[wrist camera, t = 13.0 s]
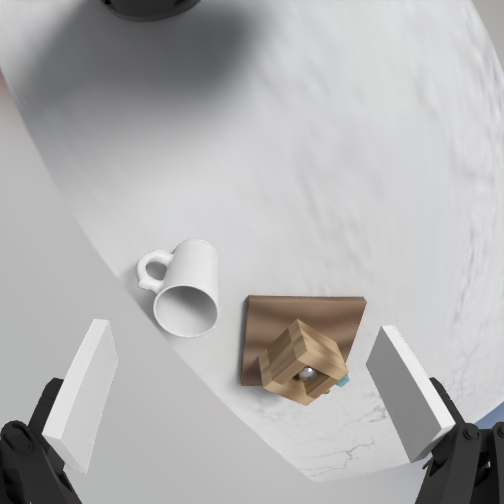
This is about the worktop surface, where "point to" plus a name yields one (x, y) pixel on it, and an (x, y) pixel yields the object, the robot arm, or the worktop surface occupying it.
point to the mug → (184, 288)
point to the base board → (285, 313)
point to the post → (308, 373)
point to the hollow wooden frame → (302, 364)
